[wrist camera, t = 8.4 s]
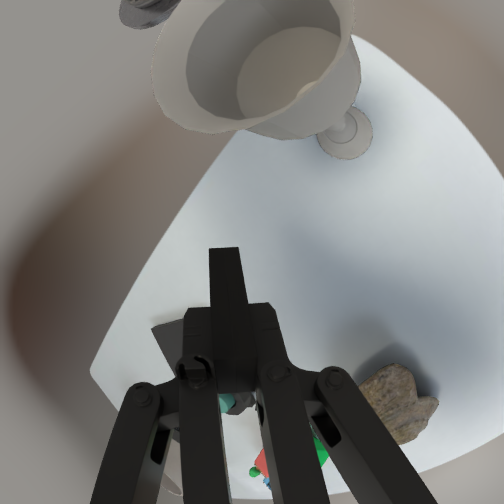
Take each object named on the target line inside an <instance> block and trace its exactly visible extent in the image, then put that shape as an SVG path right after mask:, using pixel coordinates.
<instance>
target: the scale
mask: <svg viewBox="0 0 504 504" xmlns="http://www.w3.org/2000/svg"><path fill="white" fill-rule="evenodd" d="M151 330H152V333H153V335H154V337H155V339H156V341H157V343H158V345H159V347H160V349H161V351H162V352H163V354H164V356H165V358H166V360H167V362H168V364H169V366H170V368H171V369H172V371H173V373H174V375H175V377H176V376H177V374H176V371H175V366H176V363H177V362H178V360H179V359H180V358H181V357H182V342H183V319H180V320H177V321H173V322H169V323H166V324H162V325H158V326H155V327H153V328H152V329H151ZM230 394H232V395H233V397H234V399H235V403H234V405H233V406H232V407H231V408H230V409H229V410H228V411H227V412H226V414H229V415H239V414H240V413H242V412H243V411H244V410H245V409H246V408H247V407H253V405H254V404H255V403H256V401H255V399H254V397H253V395H252V393H251V392H242V393H230Z"/></svg>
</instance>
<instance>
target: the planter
mask: <svg viewBox="0 0 504 504" xmlns="http://www.w3.org/2000/svg"><path fill="white" fill-rule="evenodd" d="M160 486H161V487H163V488H164V489H166V490H167V491H169V492H171V493H173V494H176V495H179V496H182V495H183V489H182V476H181V459H180V434H179V431H177V430H175V429H174V432H173V436H172V440H171V444H170V448H169V452H168V456H167V460H166V464H165V468H164V472H163V476H162V480H161V484H160Z"/></svg>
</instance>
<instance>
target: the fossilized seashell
mask: <svg viewBox="0 0 504 504" xmlns="http://www.w3.org/2000/svg"><path fill="white" fill-rule="evenodd" d="M358 388H359V389H360V391H361V392H362V394H363V395H364V396H365V398H366V399H367V401H368V402H369V404H370V405H371V406H372V408H373V409H374V411H375V412H376V414H377V415H378V417H379V418H380V419H381V421H382V422H383V424H384V425H385V427H386V428H387V430H388V431H389V432H390V434H391V435H392V437H393V438H394V440H395V441H396V443H397V444H398V445H402V444H405V443H407V442H410V441H412V440H414V439H415V438H417V436H418V434H419V433H420V432H421V431H422V430H423V429H425V428H426V426H427V425H428V420H429V418H430V417H431V415H432V414H433V413H434V412H435V410H436V408H437V406H438V405H439V400H438V399H437V398H435V397H430V396H419V397H417V389H416V383H415V380H414V377H413V375H412V373H411V372H410V371H409V370H408V369H407V368H405V367H403V366H401V365H399V364H394V363H392V364H390V365H387V366H385V367H383V368H382V369H380V370H379V371H377V372H376V373H375V374H373V375H372V376H371V377H370V378H368V379H367V380H365V381H364V382H363V383H362V384H360V385H359V386H358Z"/></svg>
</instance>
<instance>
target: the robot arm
mask: <svg viewBox="0 0 504 504" xmlns="http://www.w3.org/2000/svg"><path fill="white" fill-rule="evenodd" d="M124 1H125V2H126V3H128V4H129V5H131V6H134V7H136V8H146V7H149V6H151V5H153V4H155V3H157V2H159V1H160V0H124ZM209 277H210V307H197V308H188V310H187V312H186V313H185V315H184V318H183V342H182V357H181V358H180V359H179V360H178V362H177V363H176V366H175V371H176V374H177V376H176V377H175V378H174V379H172V380H171V381H168V382H166V383H162V384H159V385H156V386H154V385H152V384H150V383H148V382H140V383H136V384H134V385H133V386H131V387H130V388H129V389H128V391H127V393H126V395H125V397H124V400H123V403H122V405H121V408H120V411H119V414H118V417H117V419H116V422H115V425H114V428H113V430H112V433H111V436H110V439H109V442H108V446H107V448H106V451H105V454H104V458H103V460H102V464H101V467H100V470H99V473H98V477H97V480H96V484H95V487H94V491H93V494H92V498H91V501H90V504H156V501H157V497H158V493H159V489H160V484H161V480H162V476H163V472H164V468H165V464H166V460H167V456H168V452H169V448H170V444H171V440H172V436H173V432H174V428H176V427H179V434H180V459H181V476H182V489H183V501H184V504H232V499H231V492H230V485H229V477H228V470H227V462H226V454H225V445H224V437H223V427H222V418H221V408H220V401H219V394H230V393H242V392H253V391H255V392H256V407H255V411H257V412H258V418H259V424H260V430H261V436H262V442H263V447H264V453H265V459H266V464H267V470H268V475H269V480H270V486H271V491H272V496H273V502H274V504H330V501H329V497H328V493H327V489H326V485H325V481H324V477H323V473H322V469H321V465H320V461H319V458H318V454H317V450H316V446H315V442H314V438H313V435H312V431H311V427H310V424H311V425H312V427H313V429H314V431H315V432H316V434H317V436H318V437H319V439H320V441H321V443H322V444H323V446H324V448H325V449H326V451H327V453H328V454H329V456H330V458H331V459H332V461H333V463H334V464H335V466H336V468H337V469H338V471H339V473H340V474H341V476H342V478H343V479H344V481H345V483H346V484H347V486H348V487H349V489H350V491H351V492H352V494H353V495H354V497H355V499H356V500H357V502H358V503H359V504H438V503H437V502H436V500H435V499H434V497H433V496H432V494H431V493H430V491H429V490H428V488H427V487H426V485H425V484H424V482H423V481H422V479H421V478H420V476H419V475H418V473H417V472H416V470H415V469H414V467H413V466H412V465H411V463H410V462H409V460H408V459H407V457H406V456H405V454H404V453H403V451H402V450H401V448H400V447H399V446H398V444H397V443H396V441H395V440H394V438H393V437H392V435H391V434H390V432H389V431H388V430H387V428H386V427H385V425H384V424H383V422H382V421H381V419H380V418H379V417H378V415H377V414H376V412H375V411H374V409H373V408H372V406H371V405H370V404H369V402H368V401H367V399H366V398H365V396H364V395H363V394H362V392H361V391H360V389H359V388H358V386H357V385H356V383H355V382H354V381H353V379H352V378H351V376H350V375H349V374H348V373H347V372H346V371H345V370H344V369H342V368H340V367H334V366H331V367H327V368H325V369H323V370H322V371H321V372H314V371H306V370H302V369H300V368H298V367H296V366H294V365H293V364H292V363H291V362H290V360H289V358H288V356H287V352H286V348H285V345H284V341H283V337H282V333H281V330H280V326H279V322H278V319H277V315H276V311H275V309H274V308H273V307H272V306H271V305H270V304H269V302H266V303H253V304H248V299H247V294H246V288H245V282H244V276H243V271H242V265H241V259H240V253H239V248H238V247H228V248H209ZM309 422H310V423H309Z"/></svg>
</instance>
